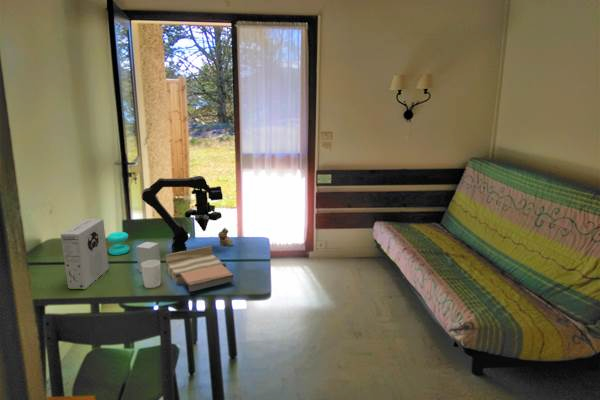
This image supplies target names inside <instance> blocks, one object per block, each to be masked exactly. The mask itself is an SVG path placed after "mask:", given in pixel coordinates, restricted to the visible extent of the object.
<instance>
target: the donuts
mask: <svg viewBox="0 0 600 400" xmlns="http://www.w3.org/2000/svg"><path fill="white" fill-rule="evenodd" d="M106 238H107V239H106V240H107V241H108V242H110V243H113V244H114V243H116V244H114V245H112V246H110V247H109V249H108V253H109V254H110V255H112V256H122V255H125V254H127V253H128V252H130V249H131V248H130V246H129V245H127V244H124V243H122V242H125V241H127V240H128V238H129V234H128V233H127V232H125V231H115V232H112V233H109V234H108V235H107V237H106ZM117 243H118V244H117ZM121 254H122V255H121Z"/></svg>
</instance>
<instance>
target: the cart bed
mask: <svg viewBox="0 0 600 400" xmlns="http://www.w3.org/2000/svg"><path fill="white" fill-rule="evenodd" d="M165 264H166V265H165V266H166V273H167V274H168V275H169V276H170V277H171V278H172V280H173V281H174V283H175V284H176V285H180V284H181V285H182V284H187V283H186V282H185V281H184V280H183V278H182V277H181V276H180V273H185V272H190V271H194V270H199V269H203V268H208V267H212V266H217V265H223V266H224V267H225V268H227V263H226V262H224V263H223V262H222V261H221V260H220V259H219V258H217V257H216V256H215V255H214V254H213V246H212V245H208V246H202V247H198V248H191V249H187V250H186V251H181V252H176V253H172V252H171V253H167V254H165Z"/></svg>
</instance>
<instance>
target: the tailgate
mask: <svg viewBox="0 0 600 400" xmlns="http://www.w3.org/2000/svg"><path fill="white" fill-rule="evenodd" d="M180 276H181V277H182V278H183V280H184V281H185V282H186V283H185V284H187V287H188V288H187V289H188V290H189V292H195V291H198V290H199V291H200V290H202V289H207V288H211V287H215V286H219V285H223V284H227V283H231V282H234V274H233V273H232V272H231V271H230V270H229V269H228V268H227V267H224V266H223V265H217V266H212V267H208V268H203V269H199V270H194V271H190V272H185V273H180Z"/></svg>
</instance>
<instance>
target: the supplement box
mask: <svg viewBox="0 0 600 400" xmlns="http://www.w3.org/2000/svg"><path fill="white" fill-rule="evenodd" d="M135 249H136V257H137V267H138V272H139V273H142V269H141V263H143V262H145V261H148V260H158V261H160V262H161V256H160V245H159V242H151V241H144V242H143V243H141V244H138V245H137V246H136V248H135ZM161 268H162V266H161V263H160V269H161Z"/></svg>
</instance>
